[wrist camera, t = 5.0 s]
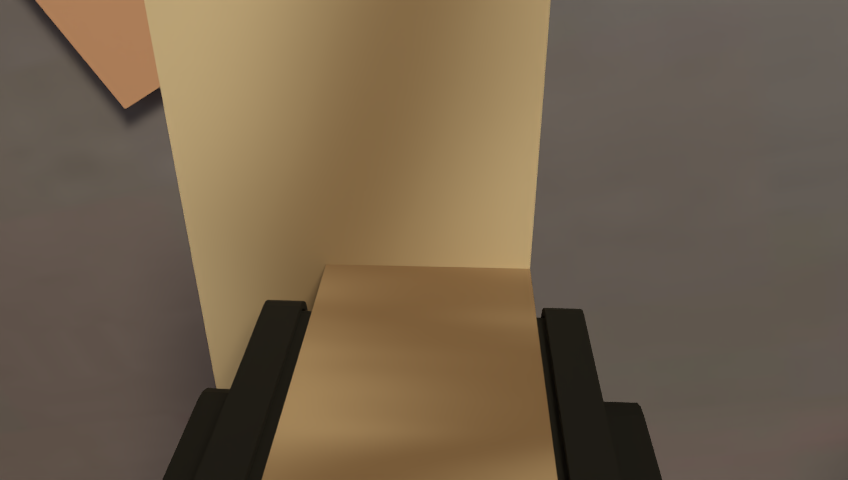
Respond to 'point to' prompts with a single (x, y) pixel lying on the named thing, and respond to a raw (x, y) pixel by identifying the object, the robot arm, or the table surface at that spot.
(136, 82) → the tile
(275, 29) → the tan l-shaped bookend
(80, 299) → the table surface
